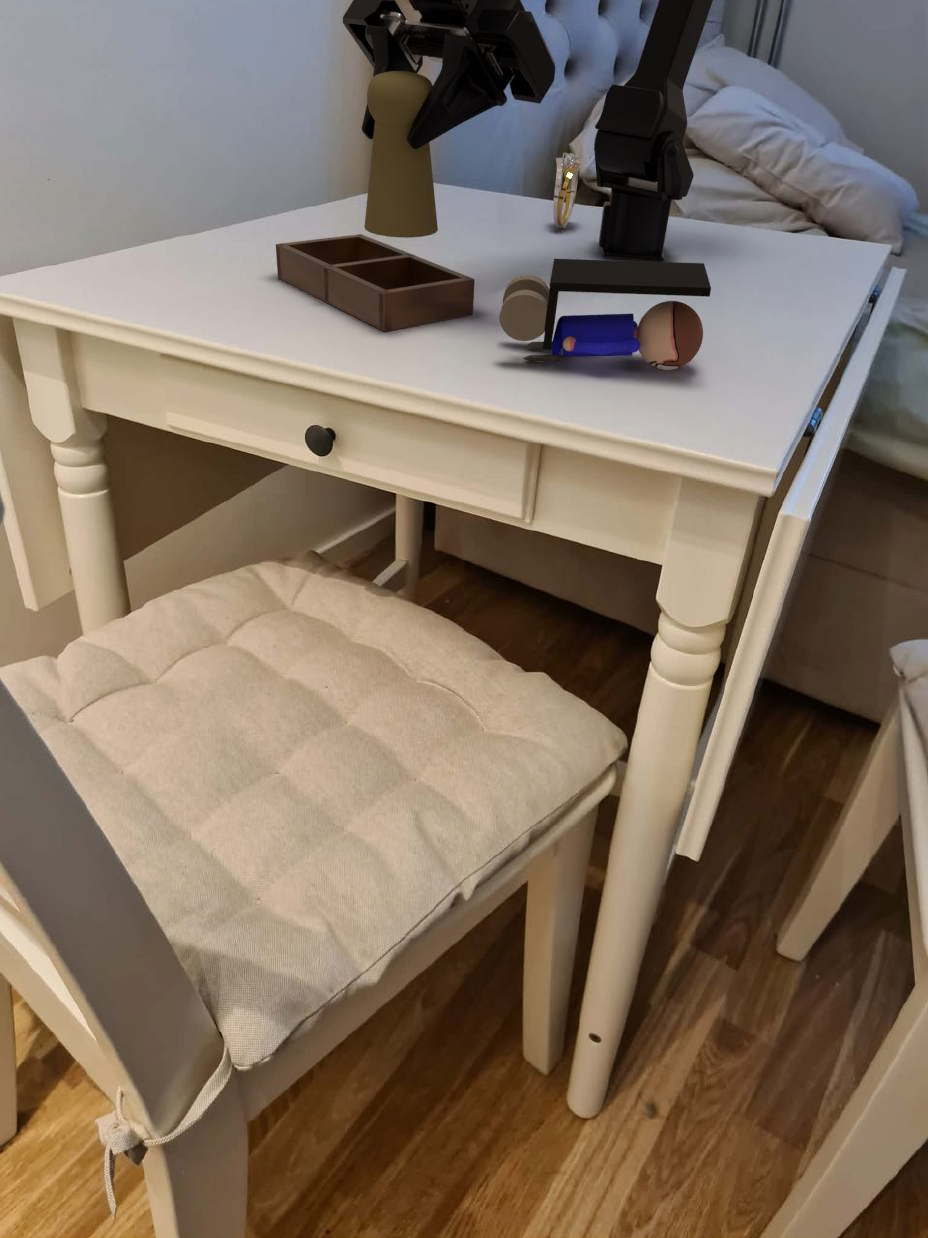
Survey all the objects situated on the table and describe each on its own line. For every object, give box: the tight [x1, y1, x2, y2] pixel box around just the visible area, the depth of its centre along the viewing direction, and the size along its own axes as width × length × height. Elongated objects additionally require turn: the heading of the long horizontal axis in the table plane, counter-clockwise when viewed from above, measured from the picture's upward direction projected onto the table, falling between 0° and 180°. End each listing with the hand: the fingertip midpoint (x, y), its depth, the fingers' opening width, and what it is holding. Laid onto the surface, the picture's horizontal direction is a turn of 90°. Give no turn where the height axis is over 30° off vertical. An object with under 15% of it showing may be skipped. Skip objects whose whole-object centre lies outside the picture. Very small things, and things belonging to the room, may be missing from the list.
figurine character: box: [498, 258, 712, 371], centre depth 66 cm, size 7×8×15 cm
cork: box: [364, 71, 439, 239], centre depth 70 cm, size 6×6×11 cm
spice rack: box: [275, 233, 476, 332], centre depth 78 cm, size 9×18×3 cm, turn 38°
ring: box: [552, 151, 583, 229], centre depth 103 cm, size 7×3×8 cm, turn 157°
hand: (387, 139), depth 68 cm, fingers closed on cork, 5 cm apart
